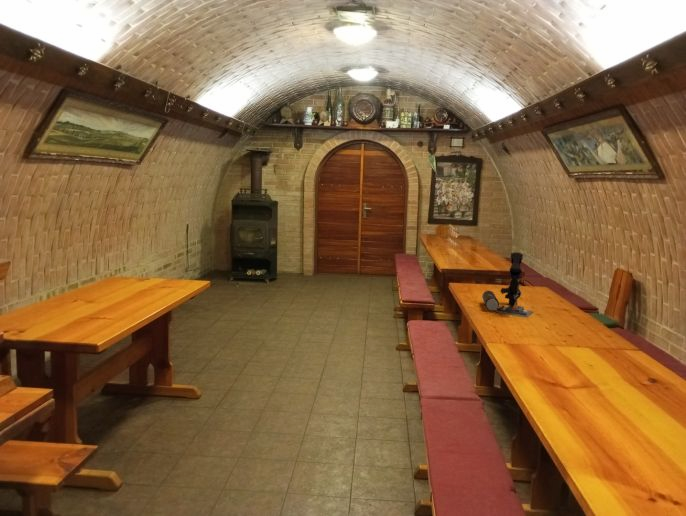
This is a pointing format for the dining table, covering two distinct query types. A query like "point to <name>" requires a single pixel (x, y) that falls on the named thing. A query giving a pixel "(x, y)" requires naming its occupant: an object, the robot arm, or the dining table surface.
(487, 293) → the muzzle brake
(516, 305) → the toggle
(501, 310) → the grey flat frame
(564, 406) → the dining table surface
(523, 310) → the panel
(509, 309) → the box
